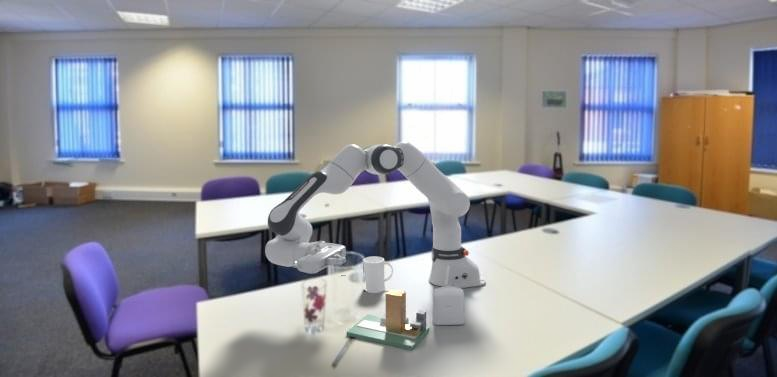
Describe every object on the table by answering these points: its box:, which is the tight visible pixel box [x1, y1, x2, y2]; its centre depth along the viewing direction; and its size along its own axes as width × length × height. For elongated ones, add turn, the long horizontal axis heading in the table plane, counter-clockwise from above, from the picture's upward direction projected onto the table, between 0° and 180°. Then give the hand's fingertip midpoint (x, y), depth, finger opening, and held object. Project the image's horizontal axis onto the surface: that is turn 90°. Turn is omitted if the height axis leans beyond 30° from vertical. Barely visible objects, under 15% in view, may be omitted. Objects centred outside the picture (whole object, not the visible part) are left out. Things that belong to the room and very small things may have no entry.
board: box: [346, 309, 430, 351], centre depth 151 cm, size 22×14×6 cm, turn 65°
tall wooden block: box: [385, 288, 420, 336], centre depth 148 cm, size 10×4×12 cm, turn 65°
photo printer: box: [432, 286, 465, 326], centre depth 157 cm, size 10×4×12 cm, turn 90°
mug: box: [362, 255, 394, 294], centre depth 187 cm, size 12×8×12 cm
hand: (343, 261), depth 156 cm, fingers closed
